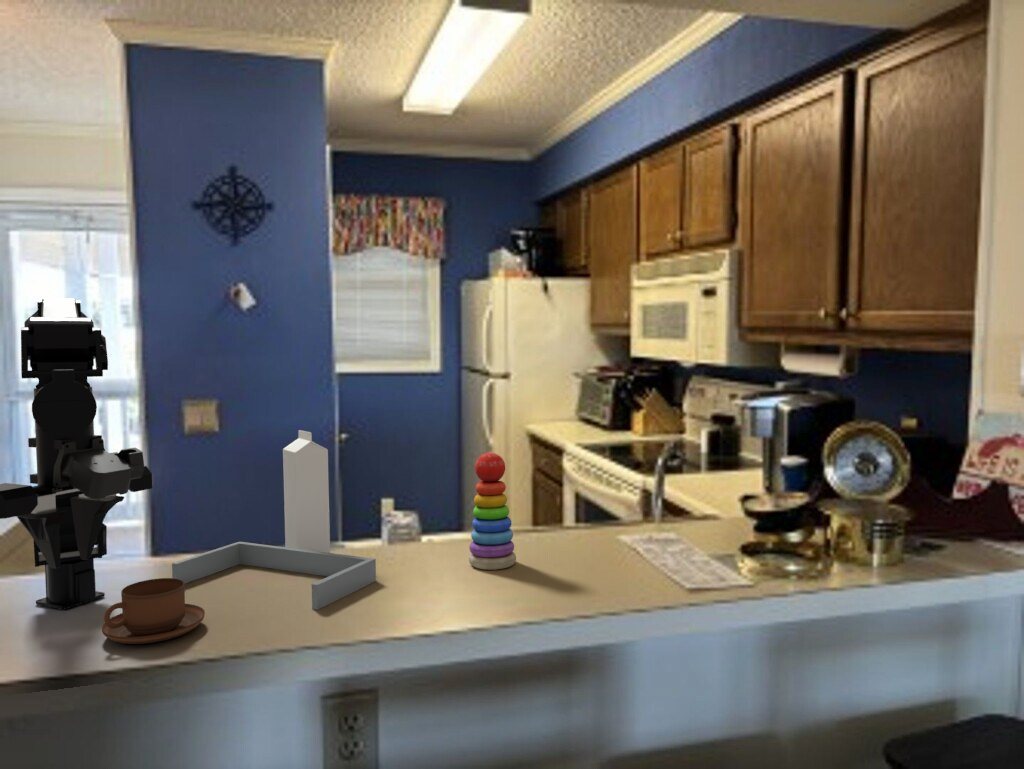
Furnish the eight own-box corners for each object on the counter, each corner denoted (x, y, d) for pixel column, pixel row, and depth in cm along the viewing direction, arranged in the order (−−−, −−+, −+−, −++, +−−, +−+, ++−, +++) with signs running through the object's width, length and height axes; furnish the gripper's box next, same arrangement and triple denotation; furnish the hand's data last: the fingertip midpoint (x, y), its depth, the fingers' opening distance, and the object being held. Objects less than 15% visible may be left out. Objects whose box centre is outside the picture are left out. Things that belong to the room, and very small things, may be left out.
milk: (297, 561, 128) (293, 434, 127) (285, 554, 133) (281, 431, 132) (331, 555, 132) (327, 431, 131) (317, 548, 137) (314, 428, 136)
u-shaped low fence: (172, 585, 116) (172, 563, 116) (239, 561, 128) (239, 541, 128) (317, 609, 104) (317, 584, 104) (376, 580, 117) (375, 558, 117)
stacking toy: (525, 561, 126) (524, 451, 126) (499, 574, 120) (497, 457, 119) (486, 555, 131) (485, 448, 130) (459, 566, 124) (457, 454, 123)
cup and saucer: (158, 657, 89) (156, 606, 89) (79, 646, 92) (77, 597, 92) (225, 621, 100) (223, 576, 100) (152, 613, 104) (150, 569, 104)
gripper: (28, 440, 73) (35, 597, 74) (183, 422, 90) (187, 550, 91) (-41, 436, 78) (-34, 584, 78) (119, 419, 95) (123, 541, 95)
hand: (70, 563), depth 86 cm, fingers open, 3 cm apart
